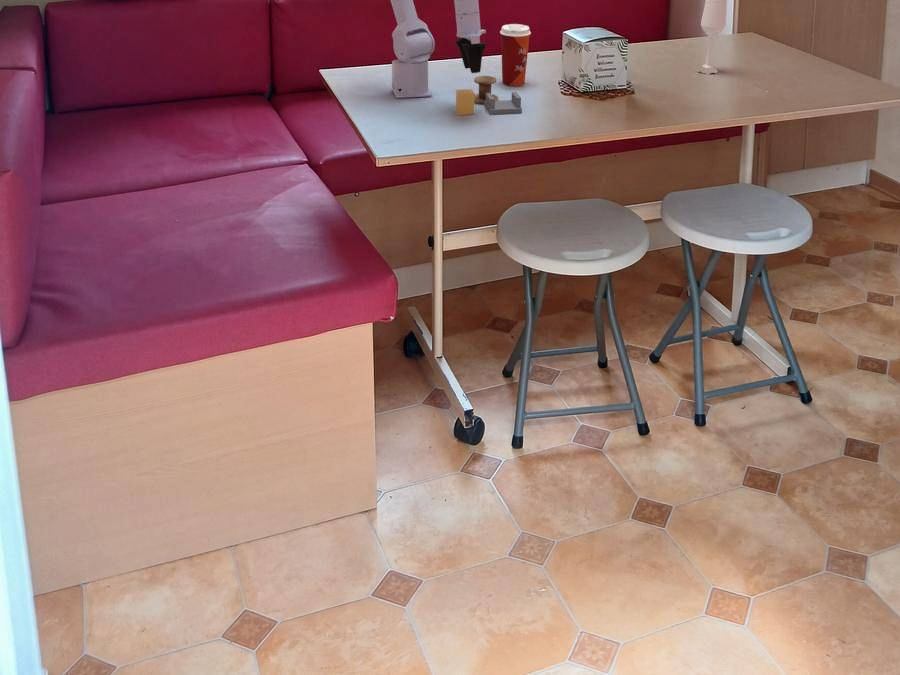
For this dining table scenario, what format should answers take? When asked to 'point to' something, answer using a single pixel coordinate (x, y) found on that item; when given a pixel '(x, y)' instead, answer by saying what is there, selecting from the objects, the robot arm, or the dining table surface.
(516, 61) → the coffee cup
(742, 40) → the dining table surface
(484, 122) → the dining table surface
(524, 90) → the dining table surface
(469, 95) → the yellow upright block
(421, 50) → the robot arm
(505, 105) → the grey cradle
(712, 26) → the champagne flute
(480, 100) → the bobbin
